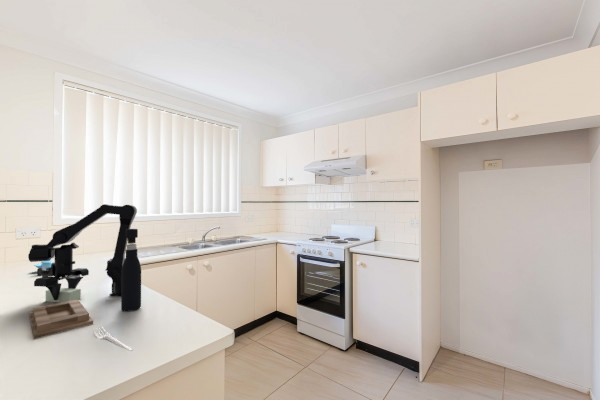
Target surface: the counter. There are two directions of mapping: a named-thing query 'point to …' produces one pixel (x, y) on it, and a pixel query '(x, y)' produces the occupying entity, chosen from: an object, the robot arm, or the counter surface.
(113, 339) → the fork
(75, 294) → the peg
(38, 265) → the blue spiky figurine
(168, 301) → the counter surface
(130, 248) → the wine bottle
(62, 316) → the socket board
